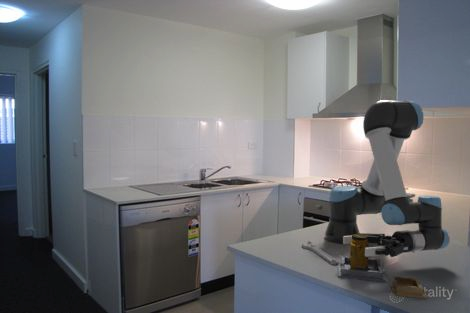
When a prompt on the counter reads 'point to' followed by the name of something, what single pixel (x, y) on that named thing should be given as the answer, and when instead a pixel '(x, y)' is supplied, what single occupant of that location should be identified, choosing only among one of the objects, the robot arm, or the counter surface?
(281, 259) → the counter surface
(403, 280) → the small brown compartment box
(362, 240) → the condiment
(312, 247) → the adjustable wrench
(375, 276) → the large collar
